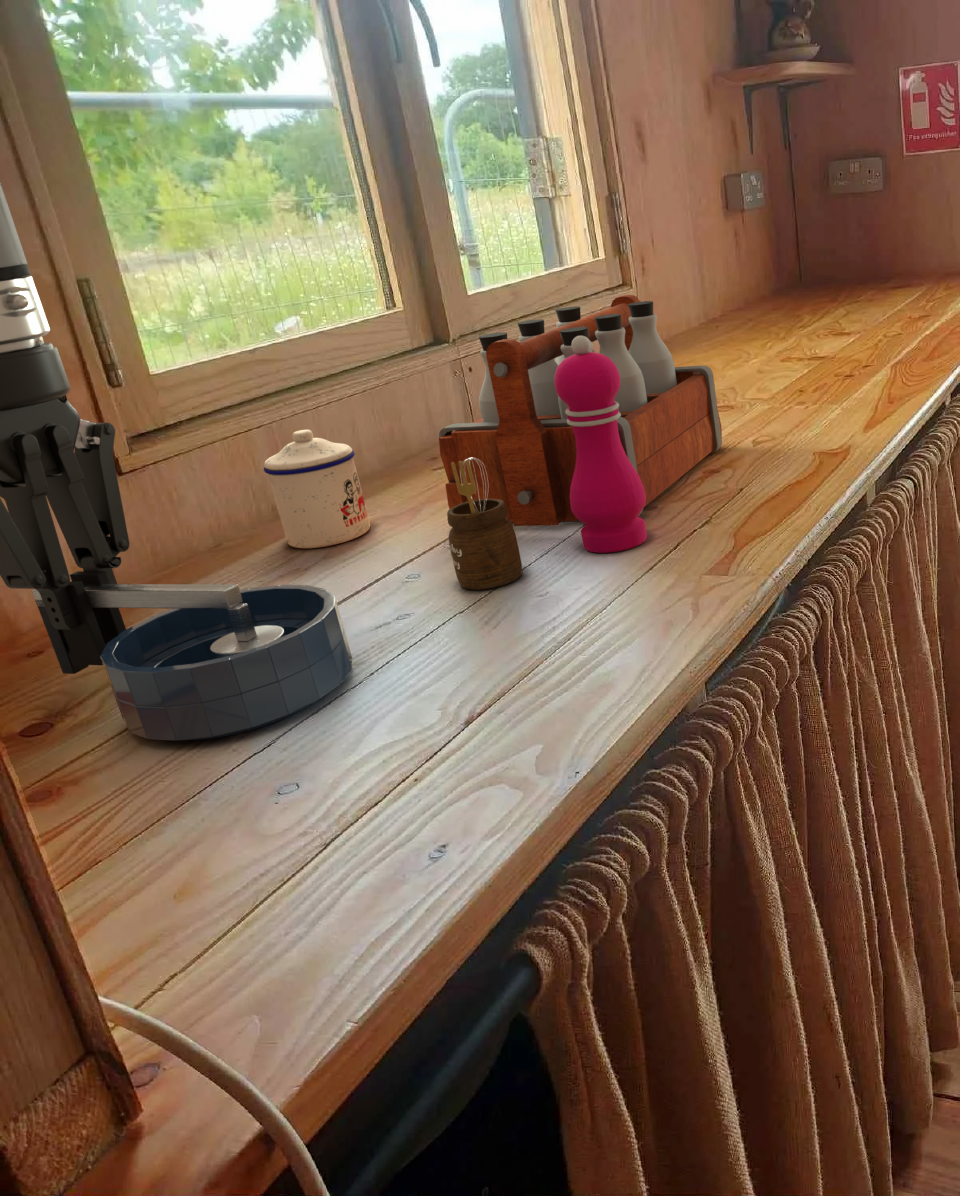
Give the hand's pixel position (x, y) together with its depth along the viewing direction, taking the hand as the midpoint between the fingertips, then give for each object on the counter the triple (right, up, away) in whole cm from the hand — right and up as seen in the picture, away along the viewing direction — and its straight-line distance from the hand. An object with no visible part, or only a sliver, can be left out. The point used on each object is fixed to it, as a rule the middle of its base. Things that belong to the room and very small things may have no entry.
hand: (104, 656), depth 86 cm
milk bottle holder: (+30, +17, +44) cm, 57 cm away
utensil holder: (+25, +6, +17) cm, 31 cm away
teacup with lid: (+2, +12, +37) cm, 39 cm away
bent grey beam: (+6, -1, -1) cm, 6 cm away
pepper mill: (+35, +10, +24) cm, 44 cm away
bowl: (+12, -3, -2) cm, 13 cm away
